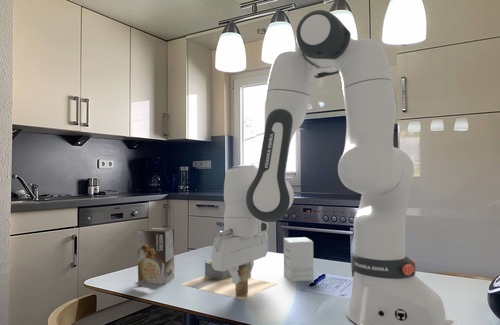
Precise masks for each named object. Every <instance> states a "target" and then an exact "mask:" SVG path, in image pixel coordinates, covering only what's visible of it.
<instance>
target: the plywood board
mask: <svg viewBox="0 0 500 325" xmlns="http://www.w3.org/2000/svg"><path fill="white" fill-rule="evenodd" d="M180 285H182V286H185V287H190V288H195V289H198V290H203V291H206V292H210V293H213V294H214V293H215V294H217V295H221V296H226V297H230V298H233V299H237V300H241V301H244V300H246V299H247V300H248V298H251V297H253V296H255V295H257V294H258V293H259V294H260V293H261V292H263V291H265V290H267V289H270V288H272V287H273V286H276V285H277V283H276V282H270V281H265V280H261V279H257V278H252V277H251V278H249V279H248V294H246V295H237V294H236V290H235V284H234V283H232V277H229V278H226V279H223V280H221V279H217V278H212V277H208V276H205V275H203V276H201V277H198V278H194V279H191V280H190V281H186V282H183V283H181V284H180Z"/></svg>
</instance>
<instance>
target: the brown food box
mask: <svg viewBox="0 0 500 325" xmlns="http://www.w3.org/2000/svg"><path fill="white" fill-rule="evenodd" d="M173 279H175V228H173V227H145V228H142V229H138V230H137V281H138V283H148V284H149V283H150V284H160V285H161V284H163V285H167V284H168V283H170V282H171V281H173ZM137 286H138V287H143V285H142V284H138V285H137Z"/></svg>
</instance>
